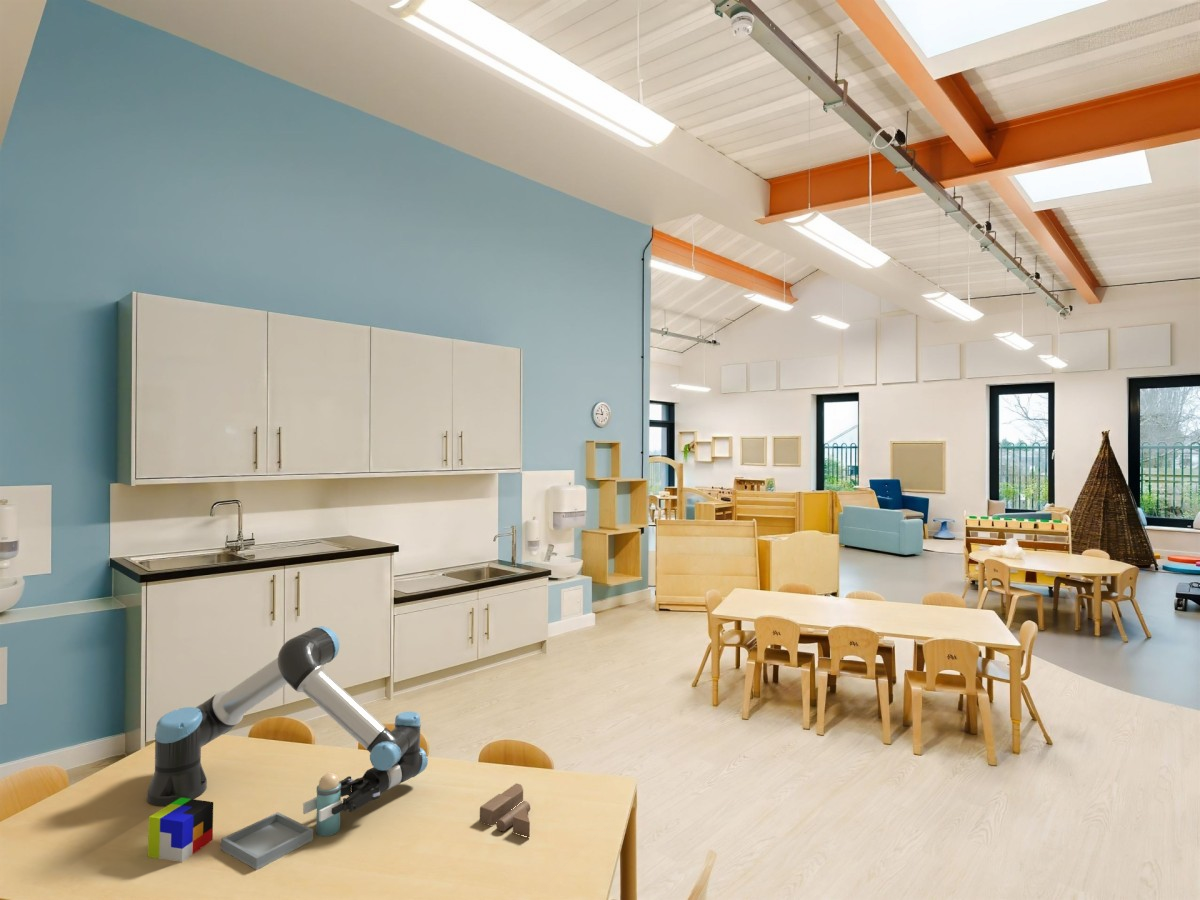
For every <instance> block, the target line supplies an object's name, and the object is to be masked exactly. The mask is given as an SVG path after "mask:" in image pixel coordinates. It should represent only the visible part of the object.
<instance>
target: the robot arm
mask: <svg viewBox="0 0 1200 900" xmlns="http://www.w3.org/2000/svg"><path fill="white" fill-rule="evenodd" d="M339 650H340V641H339V637H338V635H337V634H336V633H335V631H334V630H333V629H331V628H329V627H326V626H317V627H312V628H311V629H310V630H307V631H305V632H303V633H301V634H299V635H297V636H295V637H292V638H290V639H289V640H287V641H286V642H285V643H284V644H283V645H282V646H281V648H280V650H279V652H278V655H277V657H276V658H274V659H273V660H272V661H270V663H268V664H266V665H265V666H264V667H262V668H259V670H257V671H256V672H254V673H253V674H251V675H250V676H249V677H247V678H246V679H245V680H243V681H241V682H240V683H239V684H237V685H236V686H234V687H233V688H232V689H230V690H229V691H228V690H221V691H218V692H217V693H215V694H214V695H213V696H211V697H210V698H209V699H207V700H205V701H204V702H203V703H201V704H199V705H197V706H196V707H193V706H187V707H182V708H178V709H174V710H171V711H169V712H167V713H165V714H164V715H163V716H161V717H160V718H159V719H158V721H157V722H156V726H155V733H154V738H155V741H154V746H155V747H154V773H153V775H152V778H151V781H150V784H149V786H148V789H147V792H146V802H147V803H149V804H151V805H153V806H165V807H166V806H168V805H169V804H171V803H173V802H174V801H176V800H178V799H179V798H188V799H195V798H199V796H200V795H203V794H204V793H205V791H206V790H207V788H208V787H207V786H208V784H207V783H208V780H207V776H206V774H205V771H204V769H203V765H202V763H201V762H202V761H201V759H202V756H201V755H202V747H204V746H205V745H207V744H208V743H210V742H212V741H214V740H216V739H217V738H219V737H220V736H222V735H225V734H227V733H228V732H229V731H231V730H232V729H233V728H234V727H235V726H236V725H238V724H239V723H240V722H241V721H242V720H243V718H244V714H245V713H247V712H248V711H250V710H251V709H253V708H254V707H256V706H257V705H259V704H260V703H262V702H263V701H265V700H266V699H268V698H269V697H270V696H272V695H273V694H274V693H276V692H278V691H279V690H281V689H282V688H284V687H286V685H289V686H290V687H291V688H292V689H294V691H296V692H297V693H304V694H305V695H306V696H307V697H308V698H309V699H310V700H312V702H314V703H315V705H317V706H318V707H319V708H320V709H322V711H324V713H326V714H327V715H328V716H329V717H330V718H331V719H333V720H334V722H336V723H337V724H338V725H339V726H340V727H341V728H342V729H344V731H346V732H347V733H348V734H349V736H351V737H352V738H353V739H355V741H357V743H359V744H360V745H361V746H362V747H363V748H364V749H365V750H366V751H368V752H369V753H370V754H369V760H370V763H371V765H372V768H369V769H367V770H366V771H365V772H364V774H363V776H362V777H358V778H355V779H352V776H351V775H349V776H347V777H345V778H344V779H342V780H339V782H340V783H341V798H342V797H343V798H342V799H341V800H339V801H337V802H335V803H333V804H331V805H329V806H327V807H325V808H323V809H321V810H319V821H320V822H321V821H323V820H325V819H327V818H329V817H331V816H333V815H335V814H337V813H339V812H340V813H341V812H346V811H349V812H350V813H352V812H355V811H356V810H358V809H360V808H361V807H364V806H365V805H367V804H369V803H370V802H373V801H376V800H377V799H379V798H380V796H381V794H383V793H384V792H386V791H388V790H390V789H393V787H396V786H398V785H400V784H402V783H404V782H406V781H408V780H409V779H411V778H415V777H416V776H418V775H419V774H421V773H422V772H424V771H425V770H426V769H427V767H428V762H429V759H428V758H429V757H427V753H426V751H425V750H424V748H422V747H421V726H422V725H421V715H420V714H419V713H418V712H415V711H402V712H400V713H398V714H397V715H396V716H395V717H394V719H395V720H394V724H393V725H394V728H393V729H392V730H391V731H390V730H389V729H388V728H387V727H386V726H385V725H383V724H382V723H381V722H380V721H379V719H377V718H376V717H375V716H373V714H372V713H370V712H369V710H367V709H366V708H365V707H364V706H363V705H362V704H361V703H360V702H358V700H357V699H355V698H354V697H353V696H352V695H351V694H350V693H348V691H346V690H345V689H344V688H343V687H342V686H341V685H340V684H338V683H337V682H336V681H335V680H334V679H333V678H332V677H331V676H330V675H328V673H326V672H325V670H324V666H325V665H326V664H328V663H331V662H332V661H333V660H334V659H335V658H337V656H338V654H339V652H340V651H339ZM345 796H347V797H345ZM302 805H303V806H302V813H303V814H304V815H306V814H308V813H310V812H312V811H315V810H317V796H315V797H313V798H312V799H309V800H306V801H305V802H303V804H302Z"/></svg>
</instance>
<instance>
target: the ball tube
mask: <svg viewBox="0 0 1200 900" xmlns="http://www.w3.org/2000/svg"><path fill="white" fill-rule="evenodd" d="M339 781H340V778H339V776H338V775H337V774H335V773H333V772H328V773H325V774H324V775H323V776H322V777H320V779H319V781H318V785H317V786H316V797H317V809H316V821H315V822H316V827H315V832H316V835H318V836H319V837H330V836H333V835H335V834H337V833H339V831H340V829H341V812H339V813H337V814H335V815H333V816H331V817H329V818H327V819H325V820H323V821H321V822H320V821H319V810H321V809H323V808H325V807H327V806H329V805H331V804H333V803H335V802H337V801H339V800H341V801H342V799H341V798H342V797H341V783H340V782H339Z"/></svg>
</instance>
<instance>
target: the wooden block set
mask: <svg viewBox="0 0 1200 900" xmlns="http://www.w3.org/2000/svg"><path fill="white" fill-rule="evenodd" d="M522 801H523V802H522ZM520 802H522V803H520ZM519 803H520V804H519ZM518 804H519V805H518ZM517 805H518V806H517ZM515 806H516V807H515ZM514 807H515V808H514ZM513 808H514V809H513ZM511 809H512V810H511ZM530 811H531V805H530V803H529V802H528V801H527V800H524V788H523V785H522V784H520V783H518V782H517V783H514V784H513V785H511V786H510V787H509V788H507V789H506V790H504V791H503V792H502V793H498V794H497V795H495V796H494V797H491V798H490V799H489V800H488V801H486V802H485V803H484V804H482V805H481V806H480V807H479V823H480V822H482V823H481V824H483V823H485V824H484V825H486V824H489V825H494V824H495V823H496V822H497V823H496V824H495V825H496V829H497V830H498V831H499V830H500V831H499V832H501V831H504V832H505V831H507V830H508V829H509V828H511V827H512V833H513V832H514V833H517V834H520V835H524V836H527V837H530V835H531V834H530V831H531V830H530V828H531V827H530V825H531V824H530V823H531V822H530V819H529V816H528V815H529V814H528V813H529V812H530ZM489 825H488V826H489ZM495 825H494V826H495Z"/></svg>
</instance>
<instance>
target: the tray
mask: <svg viewBox="0 0 1200 900" xmlns="http://www.w3.org/2000/svg"><path fill="white" fill-rule="evenodd" d="M313 840H314V829H313V828H312V827H309V826H307V825H305V824H303V823H301V822H299V821H297V820H295V819H292V817H288V816H286V815H284V814H283V813H280V812H275V813H273V814H271V815H269V816H266V817H264V818H262V819H261V820H258V821H256V822H254V823H252V824H250V825H247V826H245V827H243V828H242V829H239V830H237V831H235V832H233V833H230V834H228V835H226V836H223V837H222V838H221V841H220V842H221V844H220V850H221V851H223V852H224V853H226V854H228V855H230V856H231V857H233V858H235V859H236V860H238V861H240V862H242V863H244V864H245V865H247V866H249V867H250V868H251V869H252V868H253V869H254V870H256V871H257V870H259V869H261V868H263V867H264V866H265V867H266V866H267V865H268V864H270V863H273V862H274V861H276V860H278V859H280V858H282V857H284V856H286V855H287V854H290V853H291V852H294V851H295V850H297V849H299V848H300V847H302V846H304V845H307V844H308V843H310V842H312V841H313Z"/></svg>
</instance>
